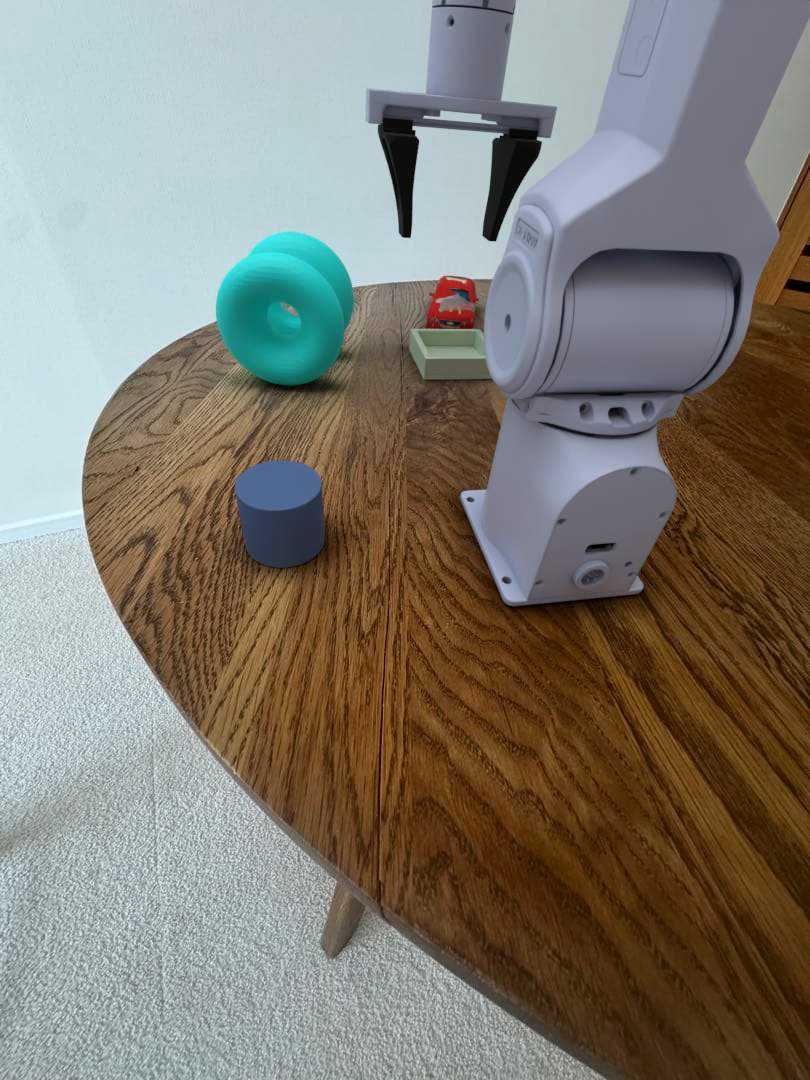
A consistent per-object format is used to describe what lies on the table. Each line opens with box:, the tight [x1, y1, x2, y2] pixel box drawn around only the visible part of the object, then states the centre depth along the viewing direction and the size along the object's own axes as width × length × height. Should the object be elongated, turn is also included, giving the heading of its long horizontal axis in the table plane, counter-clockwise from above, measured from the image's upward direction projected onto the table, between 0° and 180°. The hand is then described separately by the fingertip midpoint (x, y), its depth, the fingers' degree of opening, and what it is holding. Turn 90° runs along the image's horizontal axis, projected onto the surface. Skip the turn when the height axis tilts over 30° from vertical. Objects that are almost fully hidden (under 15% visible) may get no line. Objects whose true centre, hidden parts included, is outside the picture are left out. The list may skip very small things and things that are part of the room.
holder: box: [408, 328, 493, 381], centre depth 48 cm, size 7×7×2 cm
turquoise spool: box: [215, 231, 355, 386], centre depth 42 cm, size 10×10×10 cm
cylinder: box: [234, 459, 326, 569], centre depth 27 cm, size 4×4×4 cm
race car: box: [425, 275, 480, 329], centre depth 57 cm, size 13×5×4 cm, turn 171°
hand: (447, 237), depth 44 cm, fingers open, 7 cm apart
